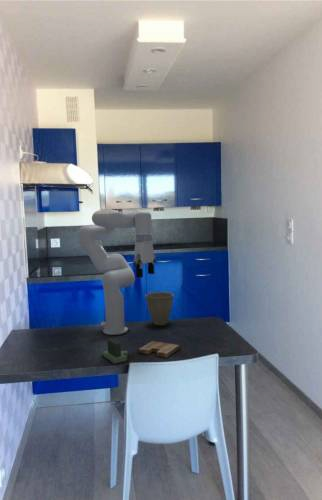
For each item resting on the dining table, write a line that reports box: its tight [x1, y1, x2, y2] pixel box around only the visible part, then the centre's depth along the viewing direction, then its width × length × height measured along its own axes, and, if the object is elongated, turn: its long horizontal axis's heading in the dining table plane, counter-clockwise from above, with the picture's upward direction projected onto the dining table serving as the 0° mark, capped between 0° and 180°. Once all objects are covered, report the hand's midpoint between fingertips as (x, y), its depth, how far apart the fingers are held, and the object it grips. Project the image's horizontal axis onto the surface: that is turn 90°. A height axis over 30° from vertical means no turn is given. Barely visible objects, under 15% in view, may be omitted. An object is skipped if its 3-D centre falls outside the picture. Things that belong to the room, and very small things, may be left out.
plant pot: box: [145, 291, 174, 326], centre depth 242 cm, size 15×15×16 cm
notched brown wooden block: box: [138, 340, 180, 358], centre depth 200 cm, size 14×12×2 cm
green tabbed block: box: [101, 337, 130, 364], centre depth 193 cm, size 12×9×8 cm
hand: (145, 275), depth 209 cm, fingers open, 9 cm apart
